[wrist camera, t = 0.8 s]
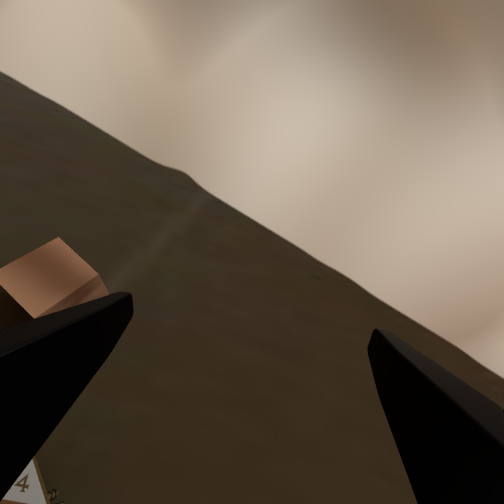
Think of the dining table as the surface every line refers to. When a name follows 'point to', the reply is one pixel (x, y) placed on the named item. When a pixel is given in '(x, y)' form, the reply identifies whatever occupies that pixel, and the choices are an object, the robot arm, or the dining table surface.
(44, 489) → the game die
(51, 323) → the robot arm
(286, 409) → the dining table surface
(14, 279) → the terracotta block
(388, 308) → the dining table surface
